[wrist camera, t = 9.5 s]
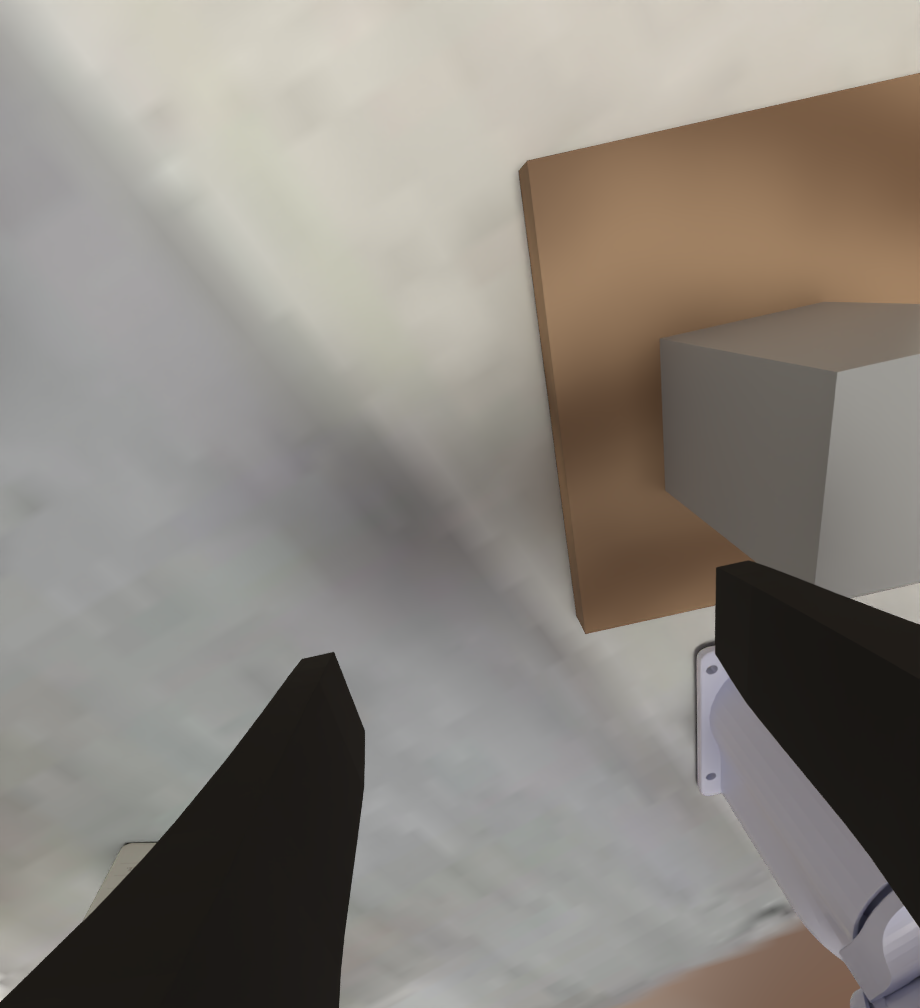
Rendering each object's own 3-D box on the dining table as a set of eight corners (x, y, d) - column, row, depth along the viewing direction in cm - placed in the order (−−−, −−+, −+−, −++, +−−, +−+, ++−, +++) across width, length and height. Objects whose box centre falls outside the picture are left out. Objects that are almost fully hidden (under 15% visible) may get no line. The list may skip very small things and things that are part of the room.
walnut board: (856, 553, 21) (881, 568, 20) (576, 615, 21) (585, 633, 20) (925, 79, 14) (968, 62, 13) (518, 170, 14) (527, 161, 13)
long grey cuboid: (809, 458, 17) (1042, 555, 11) (665, 490, 17) (812, 606, 11) (823, 301, 15) (1121, 308, 9) (659, 338, 15) (837, 372, 9)
